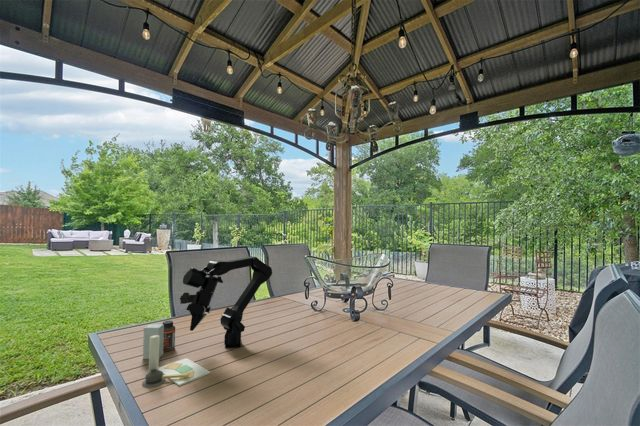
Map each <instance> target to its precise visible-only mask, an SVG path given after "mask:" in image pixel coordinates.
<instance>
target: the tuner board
mask: <svg viewBox="0 0 640 426" xmlns="http://www.w3.org/2000/svg"><path fill="white" fill-rule="evenodd" d="M158 371H162V372H163V375H173V374H184V373H190V374H189V377H185V378H183V377H180V378H165V379H162V380H161V381H160V382H157V383H154V384H147V383H146V382H145V379H144V380H143V381H142V383H141V386H142V387H144V388H153V387H158V386H160V385H162V384H164V383H165V381H167V380H166V379H169V380H170V381H171V382H173V383H174V384H175V385H177V386H178V387H180V386H183V385H185V384H188V383H190V382H193V381H195V380H198V379H200V378H203V377H205V376H207V375H210V374H211V371H209V370H208V369H206V368H204V367H203V366H201V365H199V364H197V363H196V362H194V361H193V360H190V359H189V358H187V357H185V358H181V359H179V360H175V361H173V362H170V363H168V364H165V365H161V366H158Z"/></svg>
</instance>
